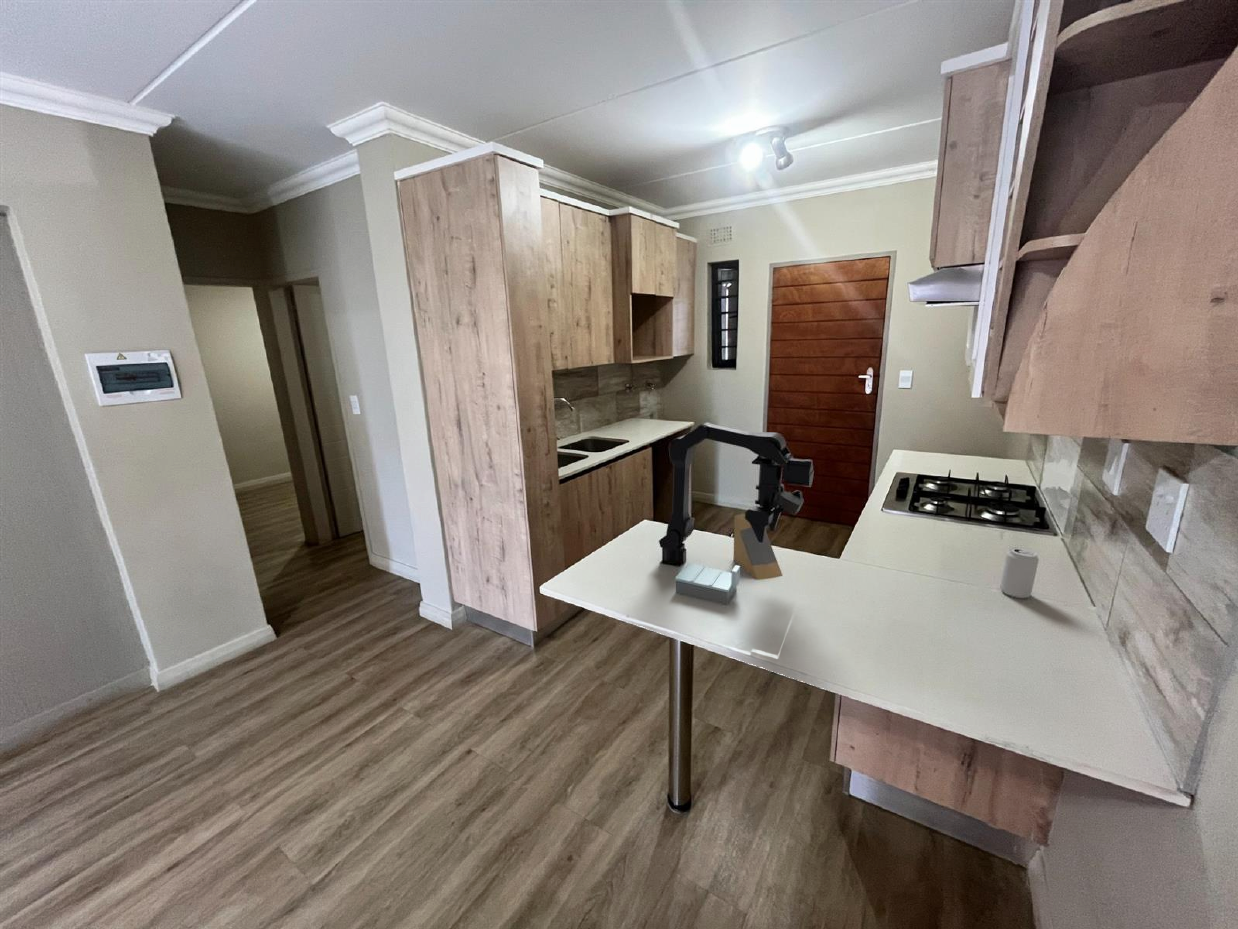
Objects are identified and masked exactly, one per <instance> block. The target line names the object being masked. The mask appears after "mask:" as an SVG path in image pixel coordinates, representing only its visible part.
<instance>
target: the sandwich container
mask: <svg viewBox="0 0 1238 929" xmlns="http://www.w3.org/2000/svg"><path fill="white" fill-rule="evenodd" d="M733 529H734V531H733V561H734V562H736V563H737V564H738V565H739V566H740V567H742V568H743V569H745V570H746V571H747V572H748V573H749V574H750V575H751V576H752V577H754V578H755V579H756V580H758V581H759V580H768V579H773V578H780V577H783V573H782V572H783V571H782V570H781V568H780V565H779V562H778V560H777V557H776V555H775V552H774V549H773V546H772V543H771V541H770V539H769V536H768V533H767V530H766V531H765V536H764V540H763V542H762V543H761V542H758V540H757V537H756V535H755V533H754V531H753V529H752V527H751V525H750V523H749V522H748V521H747V520H746V519H745V513H743V514H735V515H734V524H733Z"/></svg>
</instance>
